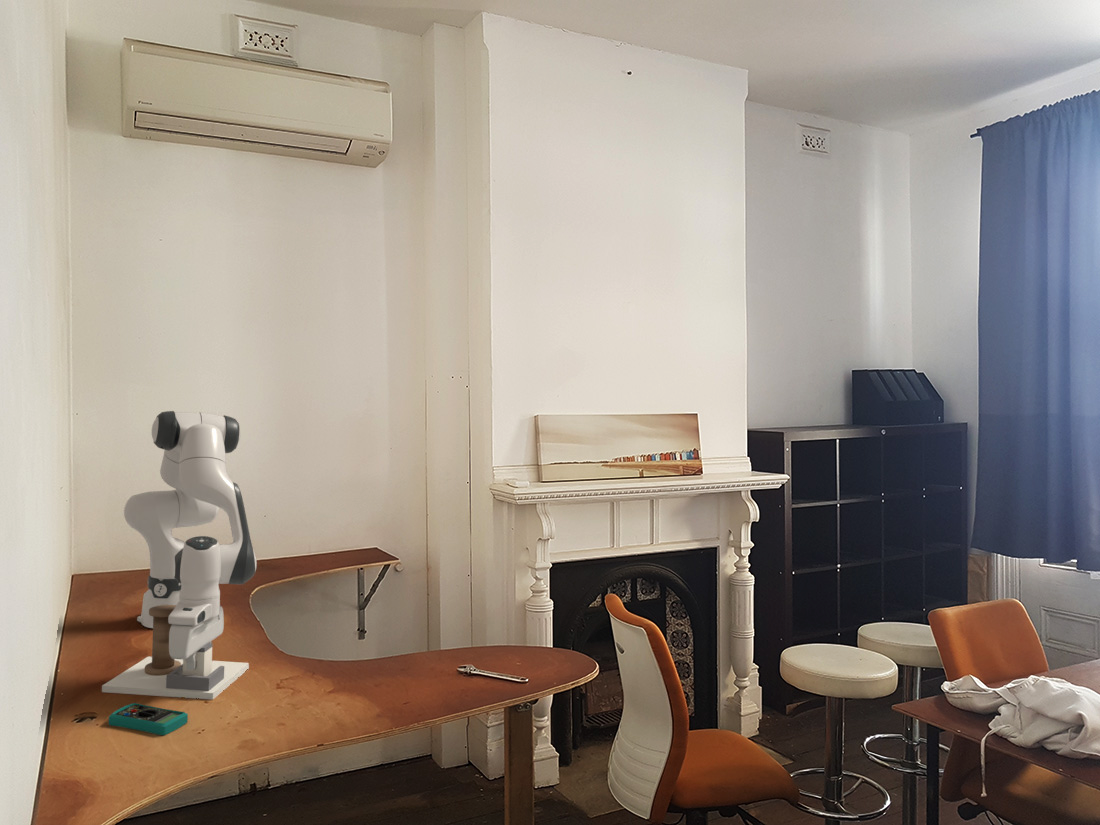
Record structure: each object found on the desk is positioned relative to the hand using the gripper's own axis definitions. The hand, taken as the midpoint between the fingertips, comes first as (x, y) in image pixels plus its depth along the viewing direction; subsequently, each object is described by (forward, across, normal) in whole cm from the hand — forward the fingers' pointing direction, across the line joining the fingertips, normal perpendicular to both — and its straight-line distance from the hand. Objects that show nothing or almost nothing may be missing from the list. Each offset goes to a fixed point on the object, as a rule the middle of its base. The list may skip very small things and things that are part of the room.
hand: (197, 665), depth 192 cm
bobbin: (+4, -6, -12) cm, 14 cm away
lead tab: (+3, 0, 0) cm, 3 cm away
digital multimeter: (+6, +20, -1) cm, 21 cm away
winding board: (+6, -4, -6) cm, 10 cm away
